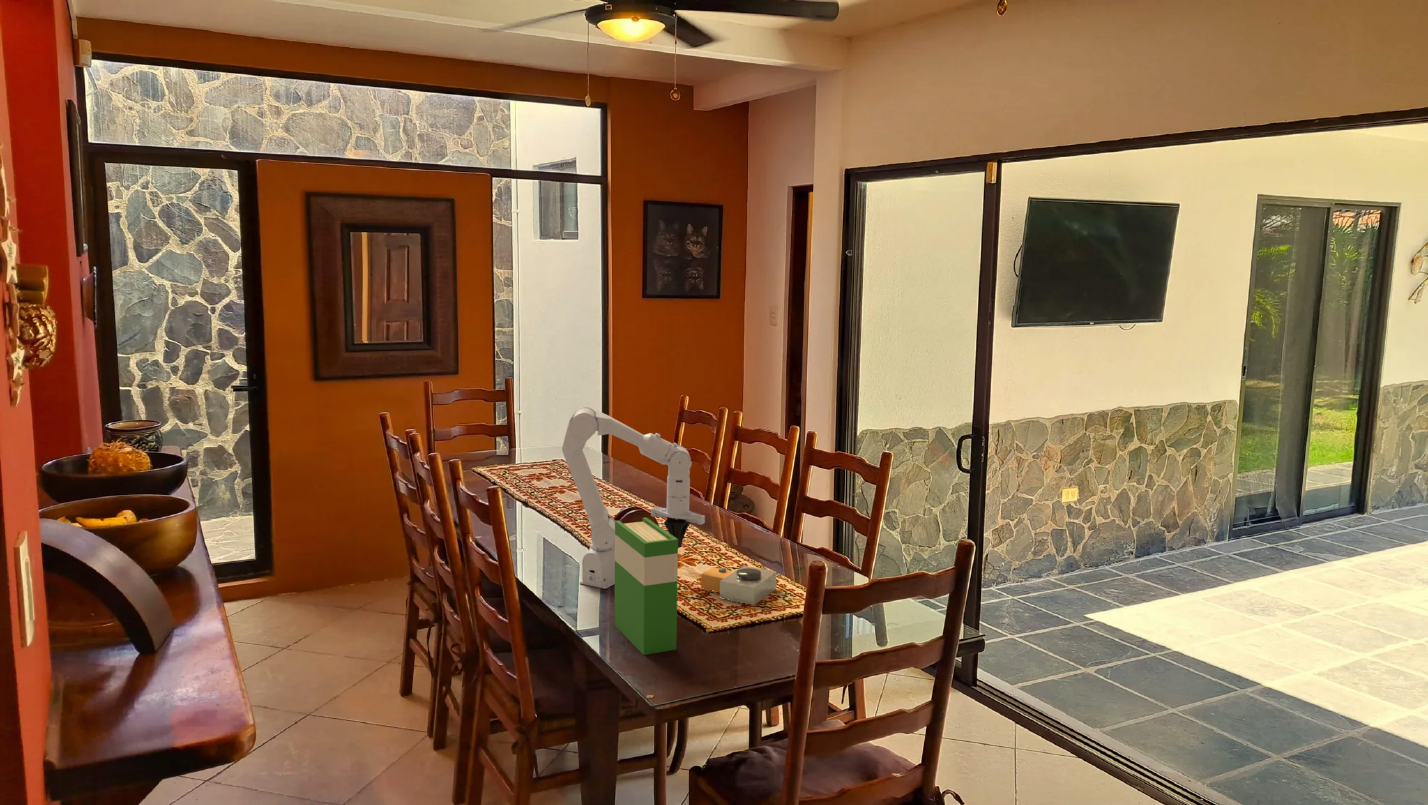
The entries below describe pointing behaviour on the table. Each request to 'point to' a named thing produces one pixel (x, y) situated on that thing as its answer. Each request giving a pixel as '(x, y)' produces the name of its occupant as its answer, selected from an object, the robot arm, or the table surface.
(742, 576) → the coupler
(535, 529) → the table surface
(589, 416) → the robot arm
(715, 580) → the lock block
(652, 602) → the hardback book
